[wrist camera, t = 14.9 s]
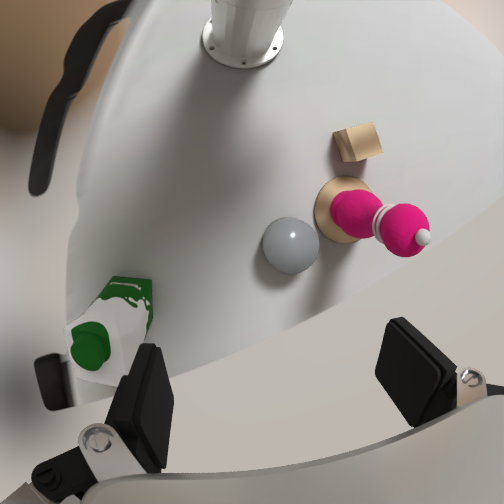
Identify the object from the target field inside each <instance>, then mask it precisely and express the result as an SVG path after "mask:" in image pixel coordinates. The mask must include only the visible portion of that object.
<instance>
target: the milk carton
mask: <svg viewBox="0 0 504 504" xmlns="http://www.w3.org/2000/svg"><path fill="white" fill-rule="evenodd" d="M152 319H153V308H152V281H151V280H149V279H138V278H127V277H117V276H113V277H112V278H111V280H110V281H109V282H108V284H107V285H106V286H105V288H104V289H103V291H102V292H101V293H100V294H99V295H98V297H97V298H96V299H95V300H94V301H93V302H92V304H91V305H90V306H89V307H88V308H87V310H86V311H85V312H84V313H83V314H82V316H80V317H79V318H77V319H76V320H74V321H73V322H71V323H70V324H68V325H67V326H65V327H64V328H63V332H64V336H65V340H66V344H67V348H68V352H69V356H70V361H71V364H73V367H74V370H75V373H76V376H77V378H78V379H82V380H86V381H91V382H95V383H100V384H105V385H110V386H115V387H118V385H119V382H120V380H121V378H122V376H123V375H128V374H129V371H130V369H131V366H132V363H133V361H134V358H135V356H136V353H137V350H138V348H139V345H140V344H141V343H143V342H144V339H145V337H146V334H147V332H148V329H149V326H150V324H151V321H152Z"/></svg>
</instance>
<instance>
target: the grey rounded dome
mask: <svg viewBox="0 0 504 504" xmlns="http://www.w3.org/2000/svg"><path fill="white" fill-rule="evenodd" d="M262 249H263V252H264V254H265V256H266V258H267V259H268V261H269V263H270V264H271V265H272V266H273V267H274V268H275V269H276V270H278V271H280V272H282V273H285V274H297V273H300V272H303V271H304V270H306V269H308V268H309V267H310V266H311V265H312V264H313V263H314V261H315V259H316V257H317V255H318V251H319V240H318V236H317V234H316V232H315V231H314V229H313V228H312V227H311V226H310V225H309V224H307V223H305V222H303V221H301V220H298V219H296V218H292V217H283V218H279V219H277V220H275V221H273V222H272V223H271V224H270V225H269V226H268V227H267V228H266V230H265V232H264V234H263V237H262Z"/></svg>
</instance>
